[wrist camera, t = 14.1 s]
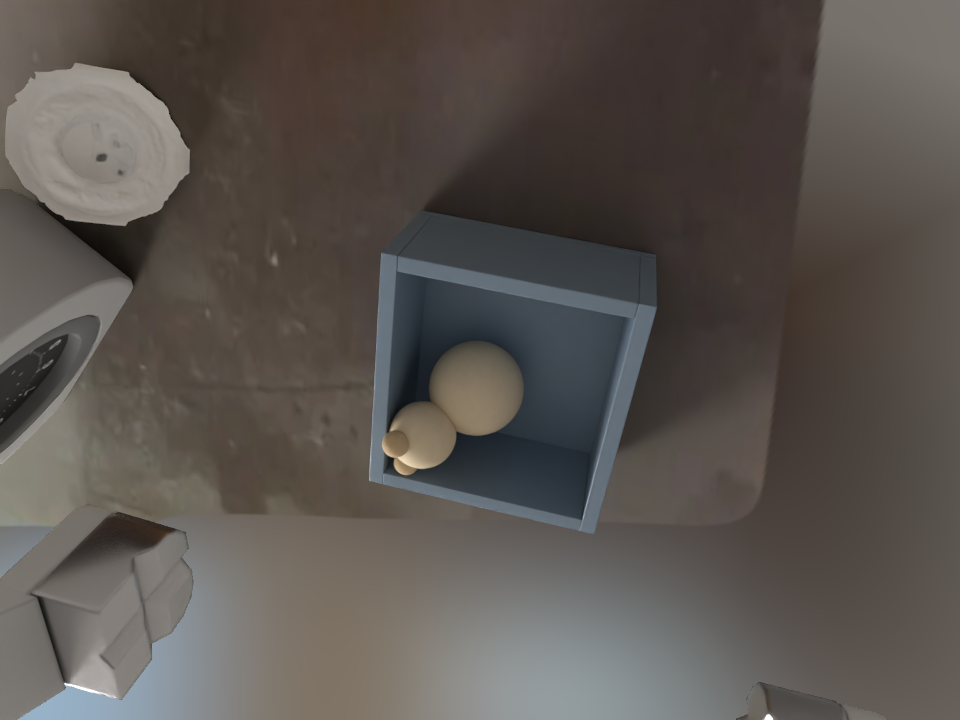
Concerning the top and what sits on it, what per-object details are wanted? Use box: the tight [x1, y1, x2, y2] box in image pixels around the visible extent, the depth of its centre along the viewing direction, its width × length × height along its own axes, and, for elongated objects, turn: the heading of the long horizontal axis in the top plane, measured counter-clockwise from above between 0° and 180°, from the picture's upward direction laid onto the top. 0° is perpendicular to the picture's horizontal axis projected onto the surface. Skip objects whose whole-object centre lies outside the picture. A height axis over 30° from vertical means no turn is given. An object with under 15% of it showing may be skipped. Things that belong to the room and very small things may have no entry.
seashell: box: [5, 63, 190, 226], centre depth 37 cm, size 8×5×8 cm
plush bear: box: [382, 341, 524, 475], centre depth 38 cm, size 5×5×9 cm
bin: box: [369, 210, 657, 534], centre depth 38 cm, size 13×14×7 cm
